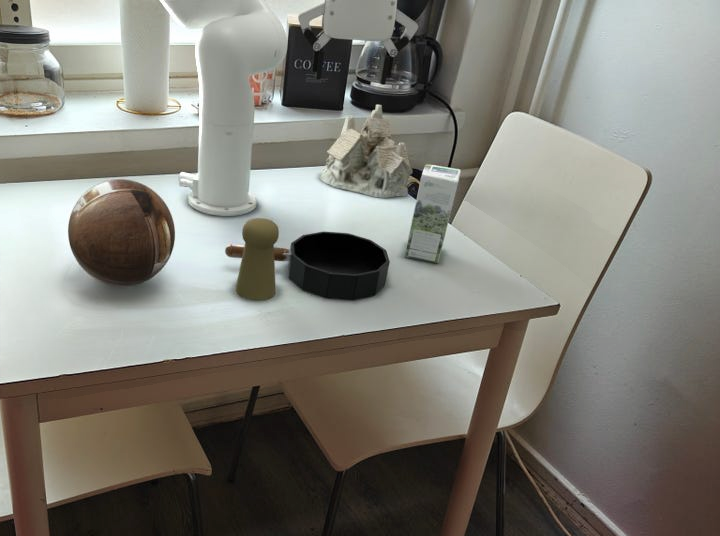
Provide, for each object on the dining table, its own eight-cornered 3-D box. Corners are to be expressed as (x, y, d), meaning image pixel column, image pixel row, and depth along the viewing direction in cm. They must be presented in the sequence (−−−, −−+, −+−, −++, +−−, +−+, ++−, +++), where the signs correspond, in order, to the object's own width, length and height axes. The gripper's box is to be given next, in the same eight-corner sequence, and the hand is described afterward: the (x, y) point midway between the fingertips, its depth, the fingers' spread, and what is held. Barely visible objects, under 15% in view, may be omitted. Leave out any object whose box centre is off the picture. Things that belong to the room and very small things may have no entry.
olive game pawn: (272, 303, 103) (279, 232, 97) (231, 297, 104) (235, 226, 97) (278, 284, 108) (286, 216, 102) (239, 278, 108) (244, 210, 102)
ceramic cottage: (313, 170, 150) (327, 98, 141) (384, 171, 154) (402, 102, 145) (338, 203, 139) (354, 127, 129) (414, 203, 143) (435, 130, 134)
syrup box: (441, 250, 122) (462, 167, 113) (438, 264, 117) (458, 179, 109) (408, 244, 123) (425, 161, 115) (403, 258, 118) (421, 173, 110)
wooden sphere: (54, 271, 106) (45, 174, 98) (141, 250, 114) (139, 158, 106) (102, 315, 97) (97, 212, 89) (193, 288, 105) (197, 191, 96)
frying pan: (221, 290, 105) (222, 265, 103) (226, 247, 117) (227, 224, 115) (390, 303, 105) (395, 278, 103) (377, 258, 117) (381, 235, 115)
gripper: (426, -48, 101) (403, 78, 110) (304, -58, 101) (291, 70, 110) (436, -43, 95) (410, 90, 104) (306, -53, 94) (293, 81, 104)
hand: (349, 80), depth 107 cm, fingers open, 9 cm apart
